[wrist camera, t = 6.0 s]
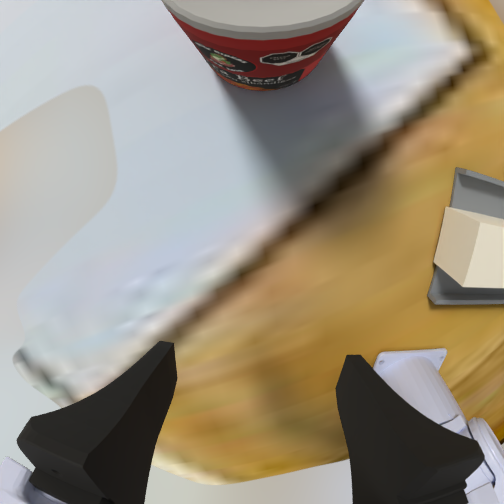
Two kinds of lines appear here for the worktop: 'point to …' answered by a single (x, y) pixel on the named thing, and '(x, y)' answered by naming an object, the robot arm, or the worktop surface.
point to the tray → (478, 201)
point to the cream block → (472, 248)
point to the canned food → (262, 36)
